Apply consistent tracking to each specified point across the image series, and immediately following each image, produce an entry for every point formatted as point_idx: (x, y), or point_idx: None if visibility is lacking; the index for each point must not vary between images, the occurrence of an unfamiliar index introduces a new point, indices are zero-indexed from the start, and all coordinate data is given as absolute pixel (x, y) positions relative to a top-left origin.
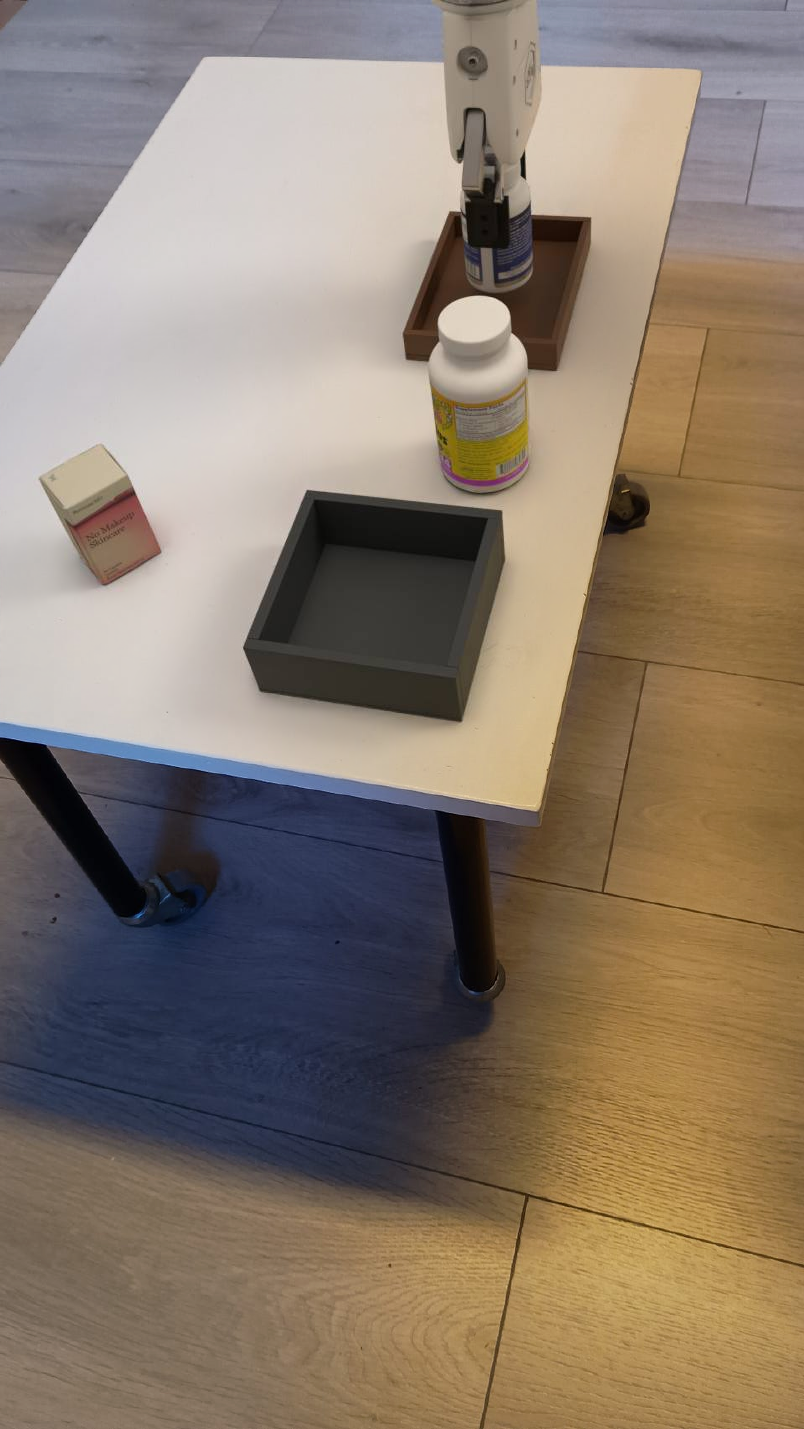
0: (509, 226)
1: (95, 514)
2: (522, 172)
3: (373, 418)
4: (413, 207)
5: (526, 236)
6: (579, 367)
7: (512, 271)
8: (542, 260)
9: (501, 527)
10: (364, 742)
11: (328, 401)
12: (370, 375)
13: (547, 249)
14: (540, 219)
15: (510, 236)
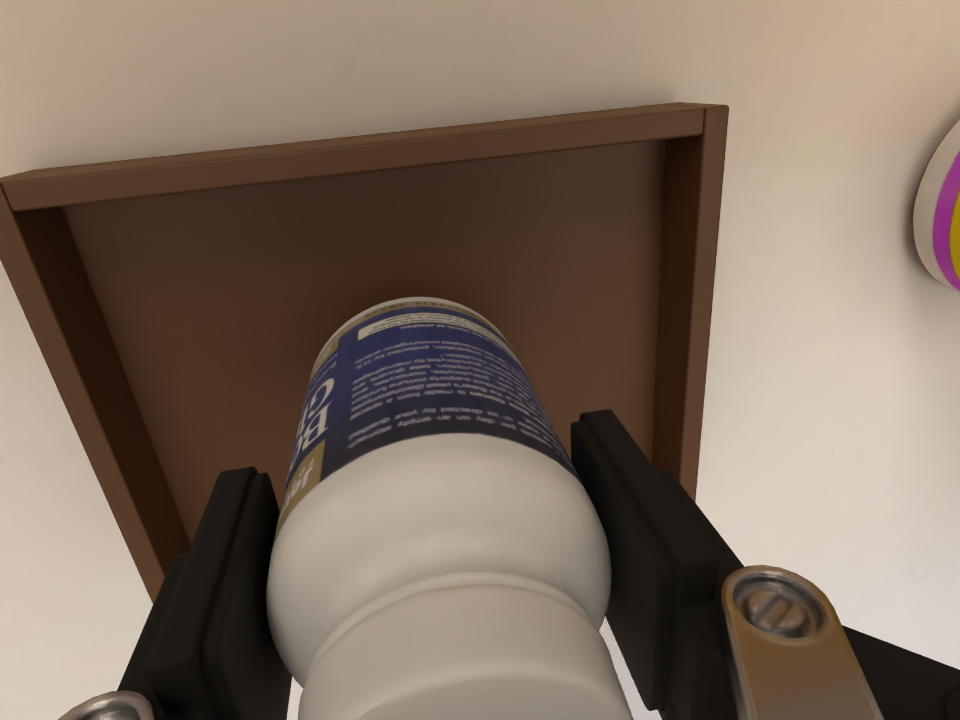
0: (622, 454)
1: None
2: (239, 561)
3: (834, 462)
4: (100, 679)
5: (470, 367)
6: (659, 33)
7: (511, 354)
8: (212, 298)
9: None
10: None
11: (784, 553)
12: (710, 518)
13: (150, 301)
14: (78, 368)
15: (547, 425)
